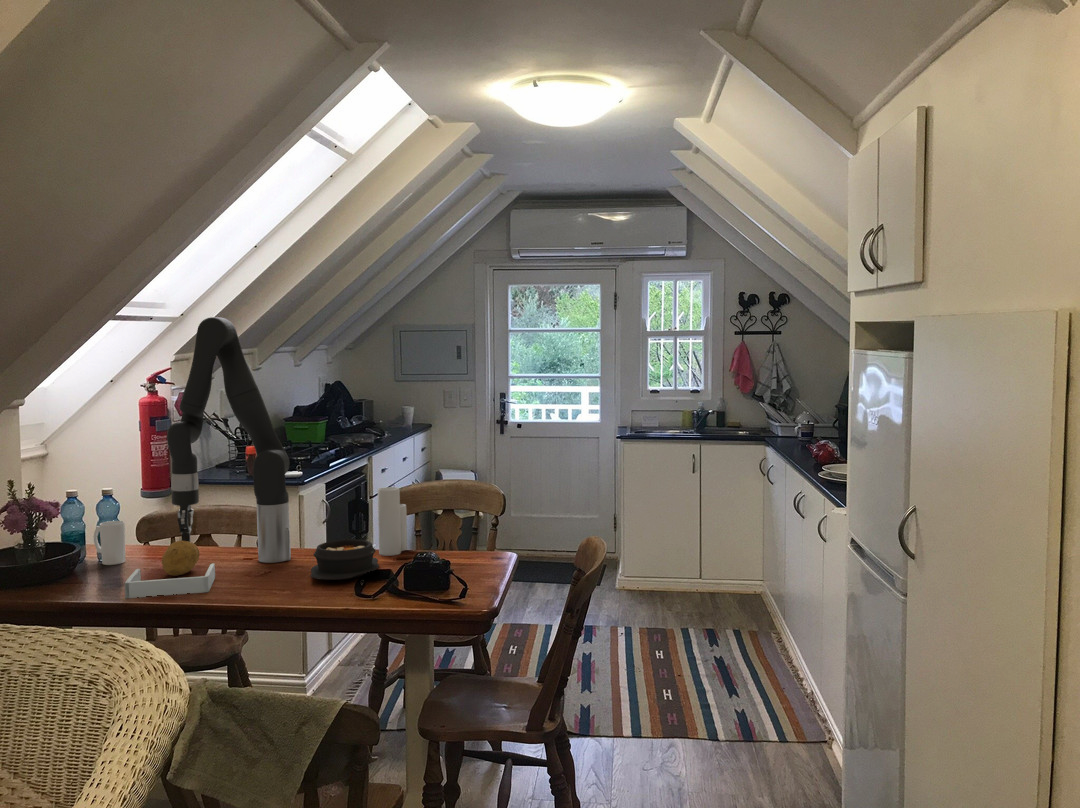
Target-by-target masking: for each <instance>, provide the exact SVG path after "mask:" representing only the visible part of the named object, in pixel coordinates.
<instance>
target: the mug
mask: <svg viewBox="0 0 1080 808" xmlns="http://www.w3.org/2000/svg"><path fill="white" fill-rule="evenodd" d="M125 526H126V524H125V521H124V520H110V521H103V522H101V523H99V525H95V529H94V532H93V544H94V547H95V549H96V552H97V554H98V553H100V554H101V563H102V565H105V566H116V565H120V564H124V563H125V562H126V527H125ZM98 536H99V537H100V543H99V540H98Z"/></svg>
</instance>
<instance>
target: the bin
mask: <svg viewBox="0 0 1080 808" xmlns="http://www.w3.org/2000/svg"><path fill="white" fill-rule="evenodd" d="M141 576H142V575H141V568H136V569H135V570H134V571H133V572H132V573H131V575H130V576H129V577H128V578H127V579H126V581H125V582H124V599H125V600H126V599H136V598H137V597H139V598H147V597H146V596H152V597H158V596H157V595H164V596H174V595H175V596H176V594H177V595H188V594H187V593H190V594H200V593H201V594H202V593H209V592H210V590H211V588H212V586H213V584H214V581H215V579H216V563H211V564H210V565H209V567H208V568H207V571H206V572H205V575H204V576H203V575H201V576H190V577H177V578H175V577H174V578H165V579H164V578H163V579H161V578H160V579H150V580H141V579H142V578H141ZM173 594H174V595H173Z"/></svg>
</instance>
